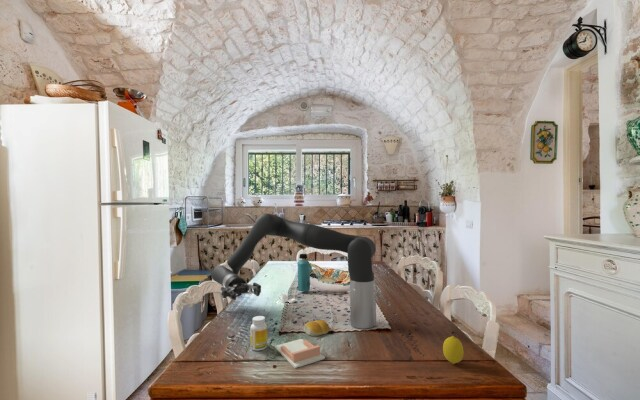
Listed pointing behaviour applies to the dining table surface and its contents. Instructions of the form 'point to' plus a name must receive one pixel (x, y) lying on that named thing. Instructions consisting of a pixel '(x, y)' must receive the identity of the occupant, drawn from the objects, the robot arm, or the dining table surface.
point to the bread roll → (316, 328)
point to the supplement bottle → (258, 333)
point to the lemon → (453, 350)
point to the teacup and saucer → (285, 299)
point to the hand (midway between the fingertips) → (247, 295)
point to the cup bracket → (300, 352)
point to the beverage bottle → (303, 274)
